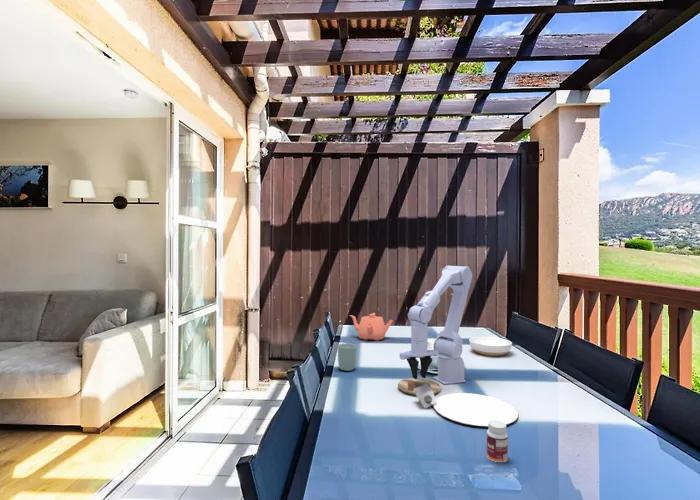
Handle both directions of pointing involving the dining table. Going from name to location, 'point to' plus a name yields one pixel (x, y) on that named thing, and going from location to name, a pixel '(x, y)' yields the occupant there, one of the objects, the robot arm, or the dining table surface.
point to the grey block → (425, 396)
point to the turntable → (417, 385)
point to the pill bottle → (497, 441)
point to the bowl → (490, 345)
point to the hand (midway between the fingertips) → (419, 377)
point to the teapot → (371, 327)
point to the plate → (475, 409)
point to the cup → (347, 356)
